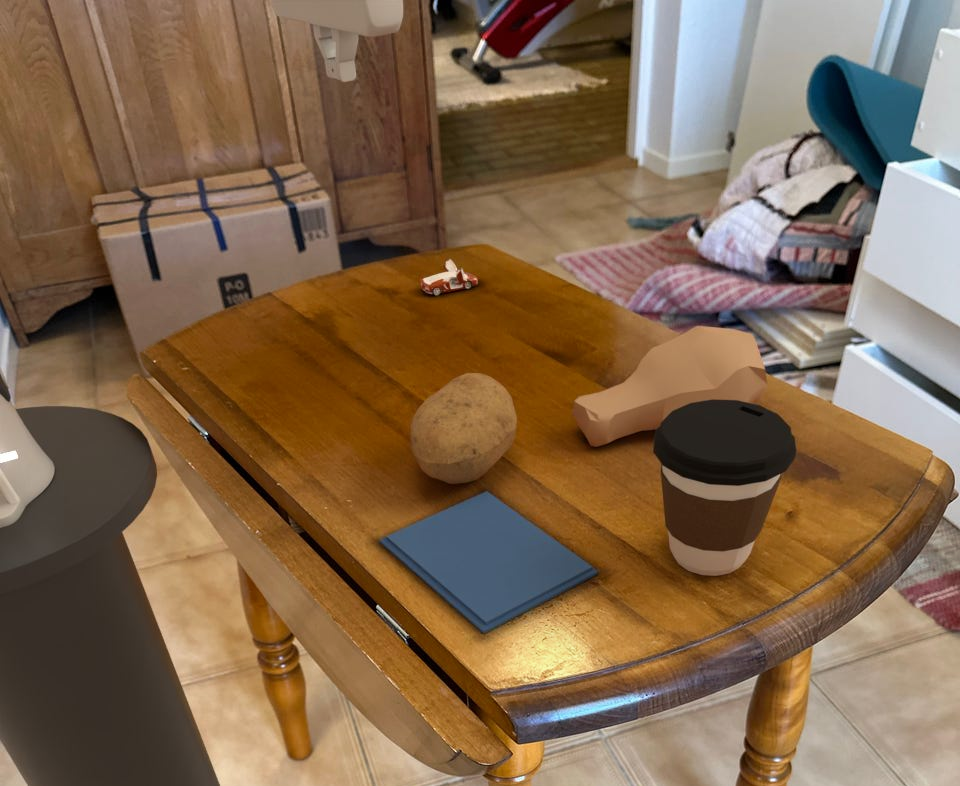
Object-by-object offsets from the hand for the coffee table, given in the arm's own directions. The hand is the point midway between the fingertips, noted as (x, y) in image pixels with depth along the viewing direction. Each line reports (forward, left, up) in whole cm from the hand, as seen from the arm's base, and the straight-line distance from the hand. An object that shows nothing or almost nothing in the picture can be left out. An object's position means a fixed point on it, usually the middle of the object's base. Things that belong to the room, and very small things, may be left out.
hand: (341, 79), depth 92 cm
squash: (+14, -35, -29) cm, 48 cm away
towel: (-14, -41, -29) cm, 52 cm away
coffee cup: (+1, -53, -29) cm, 60 cm away
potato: (-7, -28, -29) cm, 41 cm away
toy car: (+18, +11, -29) cm, 36 cm away
